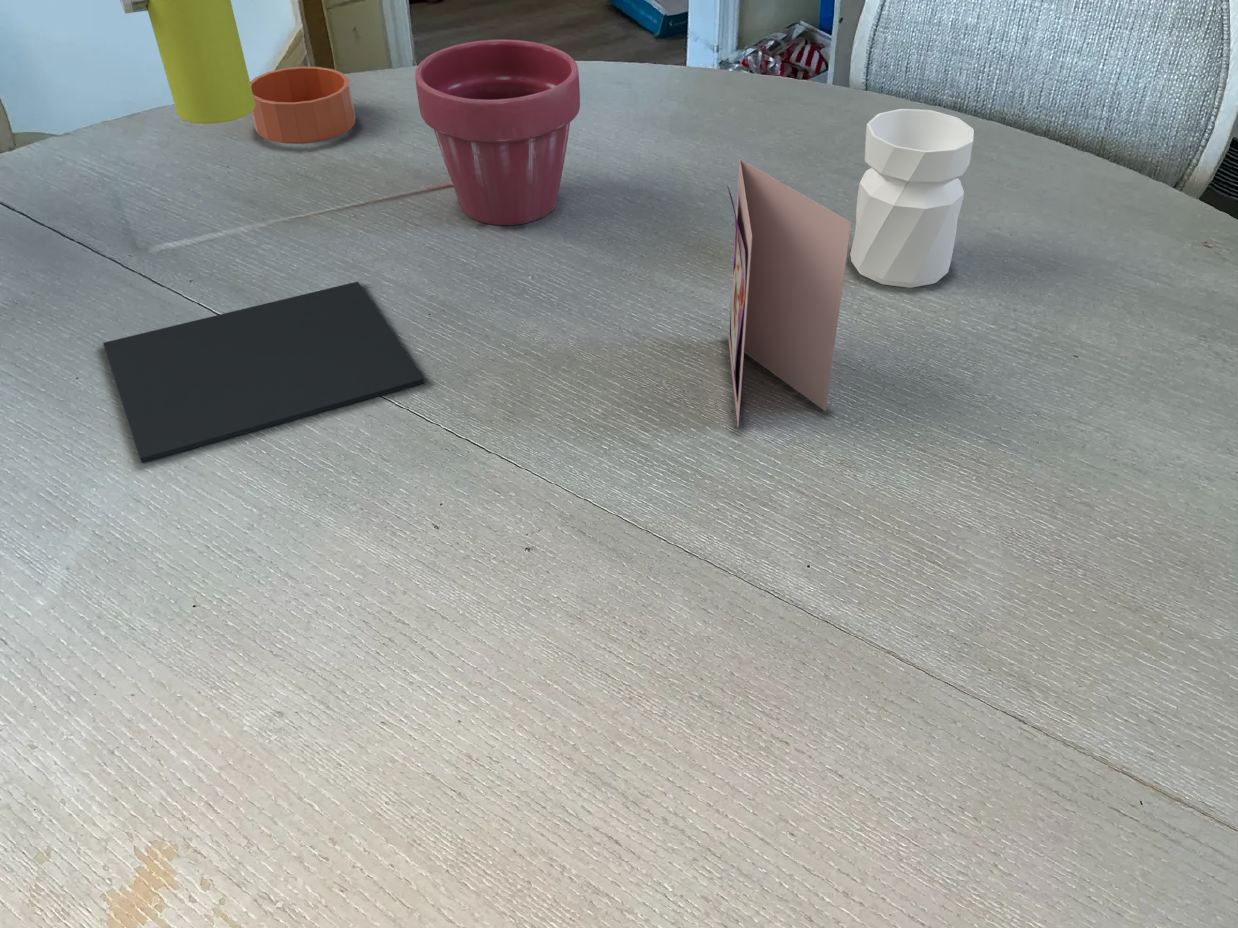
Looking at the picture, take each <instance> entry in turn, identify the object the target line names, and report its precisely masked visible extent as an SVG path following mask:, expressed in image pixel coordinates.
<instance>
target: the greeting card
mask: <svg viewBox="0 0 1238 928" xmlns="http://www.w3.org/2000/svg"><path fill="white" fill-rule="evenodd" d="M737 176H738V178H737V195H736V208H735V205H734V200H733V197H732V194H731V190H730V188H729V186H728V185H727V187H726V188H727V190H728V194H729V198H730V202H731V205H732V209H733V213H734V219H735V222H734V223H735V225H734V226H735V227H734V242H733V243H734V245H733V261H732V275H731V277H732V278H731V294H730V295H731V296H730V307H729V308H730V309H729V327H728V347H729V348H728V349H729V357H730V366H731V367H730V368H731V374H732V385H733V395H734V404H735V413H736V424H737V429H739V425H740V411H741V400H742V399H741V398H742V385H743V372H744V371H743V370H744V357H745V354H747V355H748V356H749V357H751V358H752V359H754V360H755V361H756V362H758V363H759V364H761V365H762V366H763V367H765V368H766V369H767V370H769V371H770V372H771V373H772V374H774V375H775V376H777V377H778V378H780V379H781V380H782V381H783V382H784V383H786V384H787V385H789V387H792V388H793V389H794V390H796V391H797V392H799V393H800V394H801V395H803V396H804V397H805V398H807V399H808V400H810V401H811V402H812V403H814V404H815V405H816V406H817V407H819V408H820V409H822V410H823V411H824V412H826V410H827V403H828V397H829V389H830V383H831V376H832V375H831V374H832V367H833V361H834V353H835V345H836V338H837V330H838V323H839V318H840V309H841V301H842V296H843V295H842V294H843V287H844V280H845V273H846V266H847V258H848V251H849V244H850V243H849V242H850V237H851V236H850V235H851V228H852V222H851V221H850V220H848V219H847V218H845V217H842V216H841V215H839V214H837V213H836V212H834V211H832V210H831V209H829V208H827V207H825V206H823V205H821V204H820V203H819V202H816V201H814V200H813V199H811V198H809V197H808V196H806V195H804V194H802V193H800V192H799V191H797V190H796V189H793V188H792V187H790V186H788V185H787V184H785V183H783V182H782V181H780V180H778V179H776V178H775V177H773V176H771V175H769V174H768V173H765V172H764V171H762V170H760V169H759V168H757V167H756V166H753V165H751V164H750V163H748V162H746V161H744V160H743V159H741V158H739V161H738V175H737ZM735 209H736V210H735Z"/></svg>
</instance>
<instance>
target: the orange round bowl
mask: <svg viewBox="0 0 1238 928" xmlns="http://www.w3.org/2000/svg"><path fill="white" fill-rule="evenodd" d="M250 84H251V88H252V93H253V97H254V101H255V108H254V110H253V111H252V112H251V113H250V115H251V119H252V124H253V127H254V129H255V131H256V133H257V134H258V135H259V136H260V137H262V138H264V139H266V140H269V141H272V142H277V143H283V144H309V143H317V142H322V141H326V140H330V139H333V138H337V137H338V136H341V135H344V133H347V132H348V131H349V130H351V129H353V127H354V125H355V124H356V118H357V115H356V110H355V105H354V99H353V93H352V88H351V81H350V79H349V77H348V76H347V75H346V74H345V73H344V72H341V71H339V70H336V69H334V68H328V67H322V66H294V67H293V66H292V67H285V68H280V69H276V70H275V69H274V70H270V71H268V72H266V73H265V72H264V73H263V74H260V75H258V76H256V77H254V78H253V79H252V80H250Z"/></svg>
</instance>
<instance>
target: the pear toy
mask: <svg viewBox="0 0 1238 928" xmlns="http://www.w3.org/2000/svg"><path fill="white" fill-rule="evenodd" d="M147 1H148V4H147V6H148V11H147V13H148V17H149V20H150V25H151V28H152V30H153V34H154V38H155V41H156V44H157V48H158V52H159V55H160V59H161V62H162V66H163V70H164V72H165V76H166V79H167V83H168V87H169V90H170V93H171V97H172V101H173V104H174V108H175V111H176V114H177V116H178V117H179V118H180V119H181V120H183V121H185V122H189V123H193V124H202V125H211V124H212V125H213V124H221V123H227V122H232V121H236V120H238V119H242V118H243V117H247V116H248V115H249V114H251V112H252V111H253V110H254V108H255V101H254V97H253V93H252V88H251V84H250V81H251V80H250V75H249V72H248V68H247V64H246V60H245V56H244V52H243V47H242V42H241V38H240V33H239V30H238V25H237V22H236V16H235V13H234V9H233V5H232V1H231V0H147Z"/></svg>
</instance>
